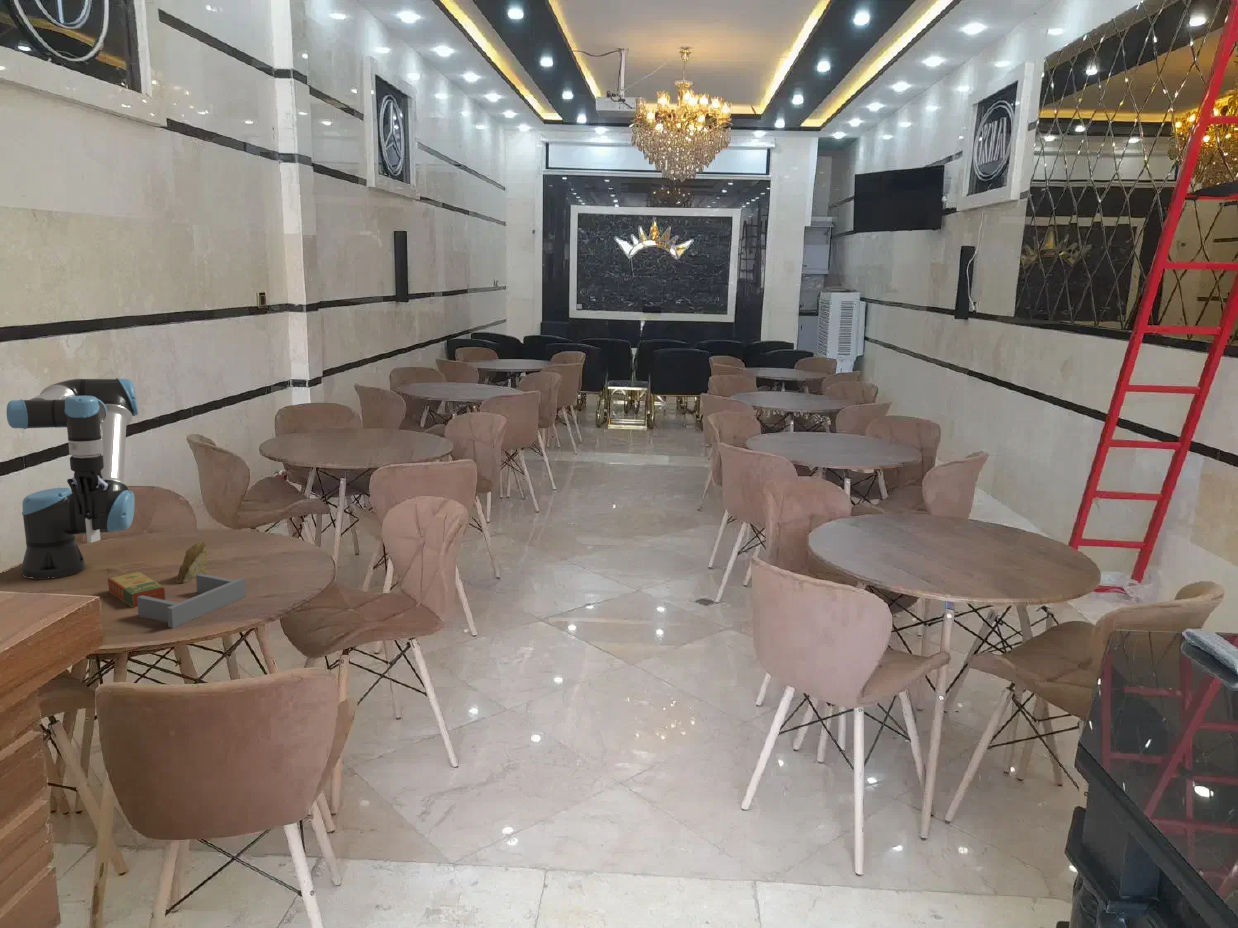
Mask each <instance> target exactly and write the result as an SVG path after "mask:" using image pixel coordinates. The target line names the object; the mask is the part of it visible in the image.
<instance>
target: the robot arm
mask: <svg viewBox="0 0 1238 928" xmlns="http://www.w3.org/2000/svg"><path fill="white" fill-rule="evenodd" d="M5 412H6V419H7V420H6V421H7V423H8V425H9V426H10V428H12V429H23V430H26V429H44V428H45V429H46V428H47V429H49V428H51V429H53V428H55V429H56V428H59V429H60V428H67V429H66V430H67V440H68V441H67V442H68V452H69V455H70V457H69V464H70V470H71V471H72V472H74V473H73V477H71V478H68V479H67V481H66V482H67V484H68V486H69V488H68V487H55V488H49V489H43V490H39V491H35V492H33V493H30V494H28V495H26V496H25V497H24V498H23V500H22V503H21V504H22V505H21V506H22V512H21V515H22V517H23V518H22V519H23V526H24V527H23V528H24V535H25V545H26V549H25V552H24V555H23V556H24V557H23V561H22V564H21V566H20V567H21V569H20V570H21V575H22V574H23V575H24V576H26V577H33V578H48V577H49V578H52V577H59V578H64V577H69V576H72V575H75V574H78V573H80V572H83V570H84V569H85V568H86V563H85V558H84V556H83V554H82V552H81V550H80V549H79V546H78V544H77V542H76V535H82V534H83V535H84V534H85V535H86V542H87V543H95V542H98V541H101V533H115V532H123V531H127V530H128V529H129V528H130V527H131V525H132V524H133V520H134V514H135V505H136V502H135V501H136V498H135V493H134V491H132V490H130V489H129V486H128V485H127V484H126V483H124V481H125V480H124V477H125V459H126V458H125V457H126V443H127V441H126V439H127V438H126V437H127V436H126V435H127V425H129V424H130V423H132V420H133V417H136V416H138V415H139V406H138V400H137V395H136V390H135V386H134V381H132V380H131V379H128V378H118V377H116V378H74V379H68V380H63V381H59V382H57V383H54V384H50V385H48V386H46V387H45V388H43V390H41V392H40V393H39V394H38V395H36V396H33V397H32V398H31V399H17V400H16V399H14V400H10V401H8V402H7V405H6V411H5ZM77 572H78V573H77ZM74 573H75V574H74ZM71 574H72V575H71ZM68 575H69V576H68ZM52 579H53V578H52Z"/></svg>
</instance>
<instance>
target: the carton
mask: <svg viewBox="0 0 1238 928" xmlns="http://www.w3.org/2000/svg"><path fill="white" fill-rule="evenodd" d="M107 584H108V591H110V592H109V594H112V595H113V596H114V597H116V596H117V597H116V598H118V599H119V600H121V601H122V602H124V603H126V604H127V605H128V606H130V607H131V608H136V607H137V608H138V603H137V597H139V596H142V595H143V596H148V597H153V598H157V599H162V600H166V593H165V592H166V591H165V587H164V586H163V585H161V584H160V583H158V582H157V581H155V580H153V579H152V578H150V577H148V576H146V575H145V574H144V573H141V572H140V571H137V572H132V573H131V572H130V573H127V574H121V575H117V576H113V577H109V578H108V579H107Z"/></svg>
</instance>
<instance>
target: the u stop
mask: <svg viewBox="0 0 1238 928" xmlns="http://www.w3.org/2000/svg"><path fill="white" fill-rule="evenodd" d="M195 580H196V581H195V582H196V593H198V595H196V596H193V597H191V598H188V599H185V600H183V601H181V602H176V601H170V600H166V599H165V600H162V599H157V598H153V597H148V596H143V595H142V596H139V597H137V603H138V607H137V613H138V617H142V618H146V619H150V620H156V621H159V622H164V623H167V626H168V628H172V629H174V628H176V627H178V626H181V625H183V624H186V623H188V622H191V621H192V619H193V620H195V619H197V618H199V617H202V616H204V615H207V614H209V613H211V612H213V611H216V610H218V609H220V608H222V607H225V606H227V605H230V604H231V603H234V602H236V601H239V600H241V599H243V598H245V597H247V588H246V587H247V586H246V578H243V577H240V578H236V579H231V578H227V577H220V576H216V575H210V574H207V573H205V574H201V573H200V574H197V575H196V578H195Z"/></svg>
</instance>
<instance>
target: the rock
mask: <svg viewBox="0 0 1238 928" xmlns="http://www.w3.org/2000/svg"><path fill="white" fill-rule="evenodd" d="M207 557H208V548H207V545H206V543H204V542H201V543H200V542H199V543H198V542H197V543H195V544H193V545H192V546H191V547H190V548H188V549H186V550H185V557H184V558H183V562H182V564H181V565H180V567H179V570H178V574H177V577H176V579H175V582H176V583H179V584H184V583H187V582H189V581H191V580H194V579H196V575H197V574H200V573H201V574H207V573H208V567H207V559H208V558H207Z"/></svg>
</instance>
